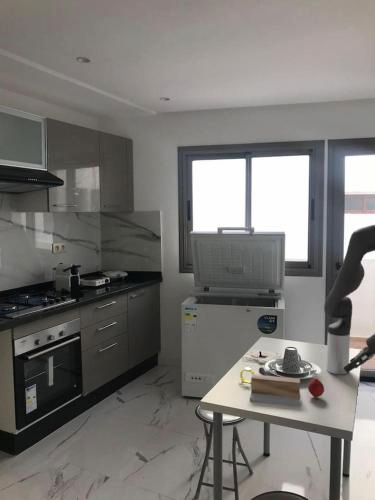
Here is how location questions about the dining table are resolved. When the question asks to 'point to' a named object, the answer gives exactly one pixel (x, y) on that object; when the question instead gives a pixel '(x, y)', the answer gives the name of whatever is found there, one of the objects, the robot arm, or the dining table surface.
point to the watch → (246, 370)
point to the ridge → (275, 386)
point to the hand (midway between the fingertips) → (348, 366)
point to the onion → (316, 387)
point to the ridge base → (274, 399)
